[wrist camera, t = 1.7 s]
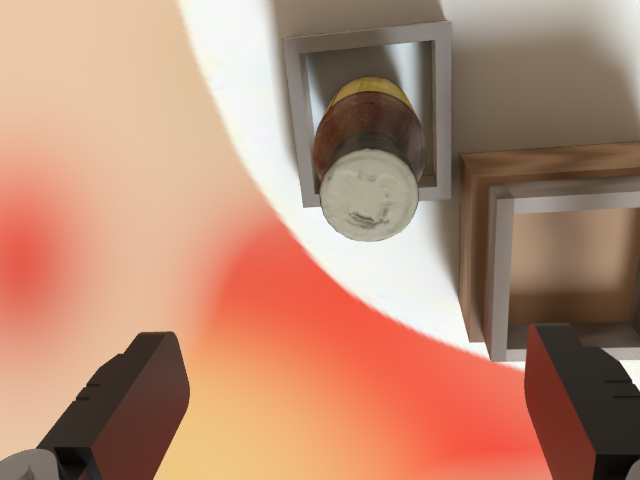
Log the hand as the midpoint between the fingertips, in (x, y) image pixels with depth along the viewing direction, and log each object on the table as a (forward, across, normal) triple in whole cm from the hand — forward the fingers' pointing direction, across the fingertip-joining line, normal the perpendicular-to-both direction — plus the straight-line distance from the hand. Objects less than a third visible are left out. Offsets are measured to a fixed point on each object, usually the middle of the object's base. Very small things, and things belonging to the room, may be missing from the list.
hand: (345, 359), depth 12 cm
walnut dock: (+30, -13, +10) cm, 34 cm away
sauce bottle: (+30, 0, 0) cm, 30 cm away
